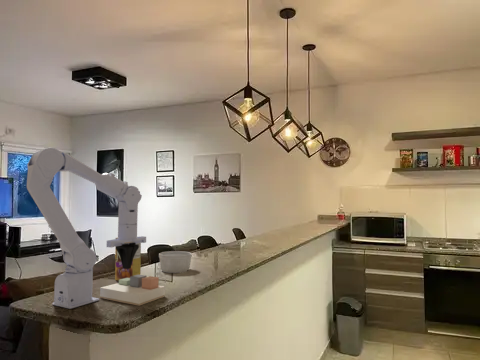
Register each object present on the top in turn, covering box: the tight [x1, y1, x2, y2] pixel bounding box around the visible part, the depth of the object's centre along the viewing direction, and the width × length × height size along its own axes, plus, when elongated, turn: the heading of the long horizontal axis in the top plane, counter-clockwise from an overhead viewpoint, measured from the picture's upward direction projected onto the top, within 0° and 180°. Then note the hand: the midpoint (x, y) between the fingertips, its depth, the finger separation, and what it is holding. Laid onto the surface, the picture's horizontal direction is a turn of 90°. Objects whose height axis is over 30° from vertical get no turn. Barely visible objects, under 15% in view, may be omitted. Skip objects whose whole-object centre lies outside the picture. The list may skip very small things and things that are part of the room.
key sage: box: [118, 278, 130, 286], centre depth 112 cm, size 3×3×3 cm
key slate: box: [130, 274, 148, 288], centre depth 110 cm, size 3×3×3 cm
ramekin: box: [158, 250, 193, 274], centre depth 148 cm, size 13×13×7 cm
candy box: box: [114, 237, 142, 281], centre depth 129 cm, size 9×4×15 cm, turn 60°
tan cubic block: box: [142, 275, 160, 290], centre depth 108 cm, size 3×3×3 cm
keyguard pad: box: [99, 282, 166, 307], centre depth 108 cm, size 10×16×3 cm
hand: (126, 268), depth 112 cm, fingers closed
